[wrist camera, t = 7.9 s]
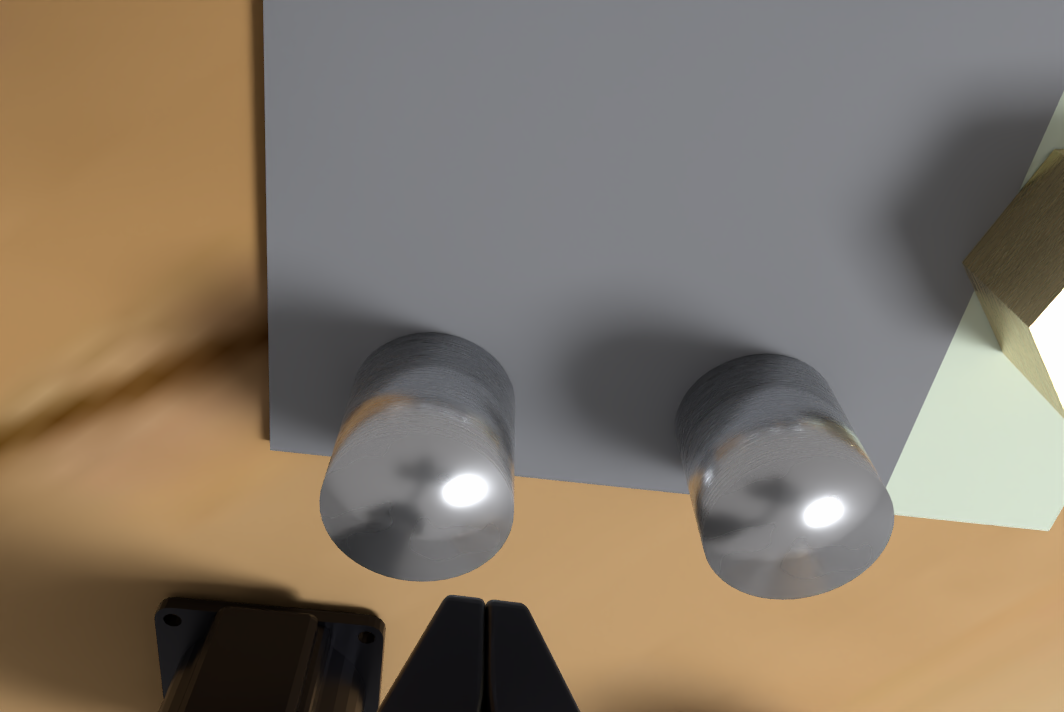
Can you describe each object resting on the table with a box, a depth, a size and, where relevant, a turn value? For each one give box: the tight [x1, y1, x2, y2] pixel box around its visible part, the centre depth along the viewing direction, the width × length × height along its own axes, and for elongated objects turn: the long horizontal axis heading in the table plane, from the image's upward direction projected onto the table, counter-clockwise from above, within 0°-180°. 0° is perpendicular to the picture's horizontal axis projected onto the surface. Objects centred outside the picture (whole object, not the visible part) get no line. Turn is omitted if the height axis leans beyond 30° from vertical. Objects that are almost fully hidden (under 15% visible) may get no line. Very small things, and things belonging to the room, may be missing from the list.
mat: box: [263, 0, 1064, 531], centre depth 19 cm, size 18×21×1 cm
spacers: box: [320, 332, 894, 600], centre depth 17 cm, size 18×14×4 cm
